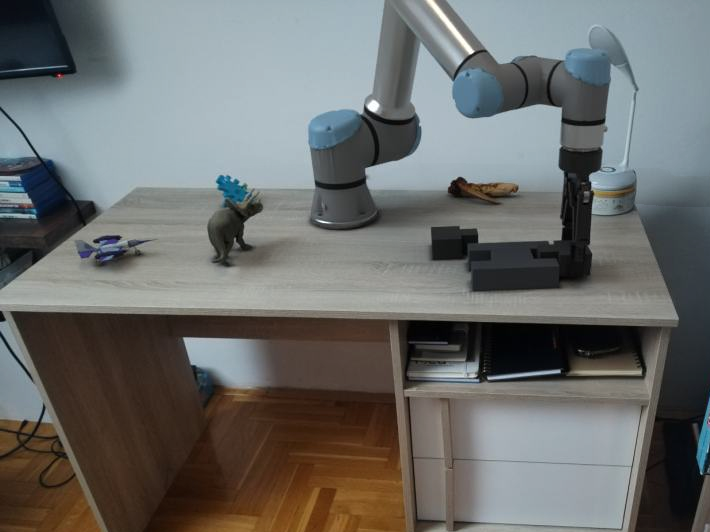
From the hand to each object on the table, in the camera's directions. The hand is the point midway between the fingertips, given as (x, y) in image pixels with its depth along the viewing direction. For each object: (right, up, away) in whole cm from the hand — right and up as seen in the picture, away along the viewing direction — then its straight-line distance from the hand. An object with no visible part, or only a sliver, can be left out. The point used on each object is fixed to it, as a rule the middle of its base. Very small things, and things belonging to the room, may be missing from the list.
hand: (571, 266), depth 125 cm
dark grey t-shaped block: (-23, +4, +10) cm, 25 cm away
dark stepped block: (-2, 0, 0) cm, 2 cm away
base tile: (-12, -2, 0) cm, 12 cm away
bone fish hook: (-16, +22, +38) cm, 47 cm away
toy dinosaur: (-69, +3, +10) cm, 70 cm away
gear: (-76, +19, +36) cm, 86 cm away
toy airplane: (-92, +3, +9) cm, 93 cm away
